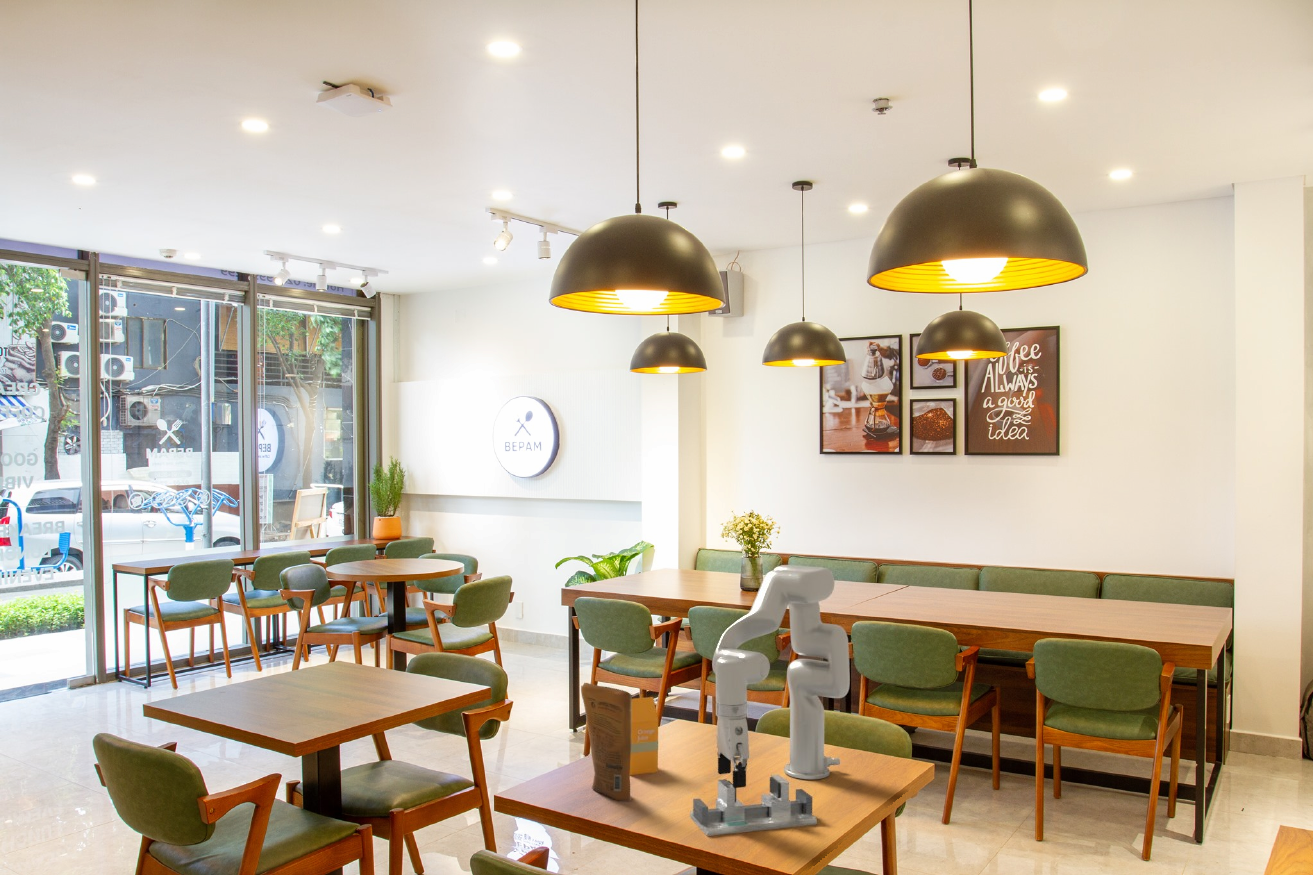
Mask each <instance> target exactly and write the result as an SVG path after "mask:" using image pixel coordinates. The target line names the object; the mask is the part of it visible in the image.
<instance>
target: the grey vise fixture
mask: <svg viewBox="0 0 1313 875" xmlns="http://www.w3.org/2000/svg"><path fill="white" fill-rule="evenodd" d="M789 798H790V782H789V781H788V780H787V779H785V778H783V776H781V775H779V774H773V775H770V776H769V793H767V794H765V793H764V794H761V803H757V804H748V805H747V804H746V805H745V812H744V821H734V822H724V821H723V812H722V811H721V810H720V809H719V808H716V807H715V808H709V806H708V805H707V804H706V803H705V802H704V801H703V800H702V799H701V798H693V802H692V803H693V804H692V810H690V813H689V815H690V816H689V817H690V819H691V821H693V823H694V824H696V826H697V827H698V828H699V829H700V830H701V831H702V832H703V834H705V835H706V837H711V836H720V835H730V834H739V833H750V832H759V831H767V830H776V829H777V830H778V829H787V828H794V827H796V828H797V827H805V826H813V825H814V826H815V825H817V824H818V822H817V821H818V818H817V817H816V816H815V815H813V796H812V795H811V794H810V793H807V791H805V790H804V789H803V788H798V789H796V788H795V800H790V799H789Z"/></svg>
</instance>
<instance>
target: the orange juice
mask: <svg viewBox="0 0 1313 875" xmlns="http://www.w3.org/2000/svg"><path fill="white" fill-rule="evenodd" d="M656 708H657V707H656V702H655V699H654V697H653V696H650V697H649V696H648V697H638V698H637V697H635V698H632V700H631V757H630V776H634V775H635V776H636V775H643V774H650V773H658V772H659V771H658V770H659V769H658V768H659V760H658V759H659V717H658V713H657V709H656Z"/></svg>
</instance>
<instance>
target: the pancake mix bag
mask: <svg viewBox="0 0 1313 875" xmlns="http://www.w3.org/2000/svg"><path fill="white" fill-rule="evenodd" d="M580 692H581V698H582V701H583V702H582V703H583V705H584V711H585V718H586V725H587V731H588V737H589V743H590V753H591V759H592V765H593V771H594V775H593V783H592V785H591V786H592V787H591V789H592V791H595V792H598V793H600V794H602V795H604V796H606V797H609V798H611V799H613V800H615V801H619V802H620V801H622V802H624V801H625V802H626V801H627V802H628V801H632V799H631V798H632V797H631V775H630V757H631V700H632V699H633V694H632V693H630V692H628V691H626V690H623V689H618V688H614V687H610V686H602V685H597V684H593V683H589V682H584V683H583V684H582V685H580Z"/></svg>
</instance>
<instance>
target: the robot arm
mask: <svg viewBox="0 0 1313 875" xmlns="http://www.w3.org/2000/svg"><path fill="white" fill-rule="evenodd" d="M834 589H835V577H834V573H833V572H832V571H831V570H830V569H829V568H826V567H822V566H821V567H820V566H810V565H809V566H806V565H796V564H795V565H794V564H782V565H778V566H776V567H775V568H773V570H769V572H767V573H766V574H765V575H764V578H763V579H762V581H761V584H760V586H759V588H758V591H757V594H756V595H755V598H754V600H753V603H752V605H751V607H750V610H749V612H748V613H747V614H745V615H743V616H742V617H740V618H739V619H737V620H736V621H735V622H734V623H732V624H731V625H730V626H729V627H728V628H727V629H726V630H725V631H724V632H723V633H722V635H721V636H720V638H719V640H718V643H717V646H716V648H715V650H714V654H713V656H712V661H711V664H712V671H713V673H714V674H715V716H716V717H717V722H716V748H717V753H716V754H717V773H718V774H719V775H725V774H730V773H732V784H733V787H734V788H736V789H739V788H740V789H741V788H746V786H747V769H748V768H747V767H748V760H749V758H750V747H749V745H750V744H749V740H750V739H749V731H748V730H749V728H748V722H747V717H748V690H747V689H748V685H753V684H758V683H761V682H763V681H765V679H766V678H767V677H768V675H769V673H770V669H771V663H770V661H769V658H768V657H767V656H766V655H765V654H763V653H762V652H759V651H753V650H752V651H751V650H746V649H745V650H744V649H738V648H739V647H740V646H741V645H742V644H744V643H747V642H748V641H750V640H753V639H755V638H759V637H762V636H765V635H768V634H772V633H774V632H776V631H777V630H778V629H780V627H781V624H782V622H783V619H784V616H785V614H786V610H787V609H789V627H790V628H789V630H790V644H791V648H792V650H793V652H794V653H795V654H798V655H800V656H805V657H812V658H820V659H826V660H827V661H825V660H817V659H811V658H797V659H795V660H792V661H791V662H790V663H789V665H788V667H787V670H786V680H787V686H788V692H789V705H790V706H789V708H790V709H789V713H790V714H789V718H790V719H789V763H788V764H786V765H785V766H784V767H783V768H784V769H783V770H784V771H783V772H784V773H785V774H786V775H788V776H789V777H792V778H795V779H800V780H821V779H825V778H827V777H829V776H830V767H831V766H839V765H840V764H841V760H840V758H839V757H833V758H832V757H831V756H825V708H824V705H823V703H822V701H821V699H820V698H819V697H824V698H825V697H826V698H832V699H842V698H844V697H845V696H847V694H848V693H849V690H850V681H851V679H850V677H851V676H850V654H849V651H850V649H849V638H848V635H847V631H846V630H845V629H844V628H843V627H842V626H841V625H838V624H836V623H835V624H834V623H833V624H831V623H824V622H822V619H821V608H820V607H821V606H820V603H819V602H823V601H824V600H827V599H828V598H829V597H830V596H831V595H832V593H833V591H834ZM737 762H738V763H737ZM732 766H733V770H732Z"/></svg>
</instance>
